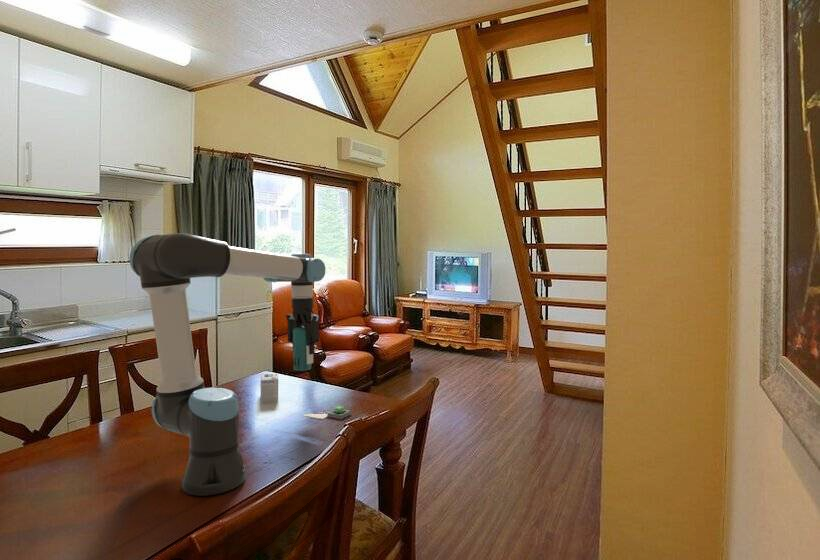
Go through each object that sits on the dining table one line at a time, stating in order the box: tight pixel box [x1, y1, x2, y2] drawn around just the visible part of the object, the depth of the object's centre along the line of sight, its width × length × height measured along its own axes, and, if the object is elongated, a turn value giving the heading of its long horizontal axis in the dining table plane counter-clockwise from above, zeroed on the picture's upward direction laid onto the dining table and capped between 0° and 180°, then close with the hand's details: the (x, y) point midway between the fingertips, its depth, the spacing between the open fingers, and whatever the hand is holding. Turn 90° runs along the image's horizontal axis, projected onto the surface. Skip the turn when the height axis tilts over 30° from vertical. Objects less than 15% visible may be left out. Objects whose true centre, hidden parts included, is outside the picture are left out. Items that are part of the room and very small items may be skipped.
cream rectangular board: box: [302, 413, 328, 420], centre depth 170 cm, size 16×12×1 cm
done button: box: [333, 405, 345, 413], centre depth 164 cm, size 3×3×2 cm
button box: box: [327, 409, 352, 420], centre depth 164 cm, size 6×6×2 cm
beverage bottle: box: [292, 318, 312, 372], centre depth 163 cm, size 6×7×20 cm
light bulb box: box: [260, 373, 279, 404], centre depth 180 cm, size 11×7×11 cm, turn 17°
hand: (303, 362), depth 162 cm, fingers closed on beverage bottle, 5 cm apart
